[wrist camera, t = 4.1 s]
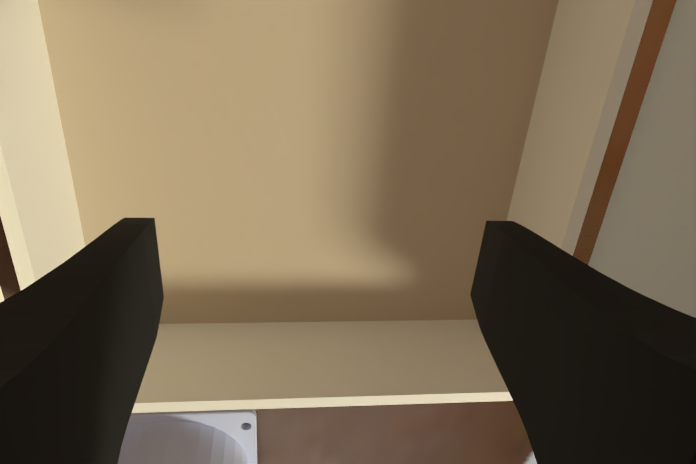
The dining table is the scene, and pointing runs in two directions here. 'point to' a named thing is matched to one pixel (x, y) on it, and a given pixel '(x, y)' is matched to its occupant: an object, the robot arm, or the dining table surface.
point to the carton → (308, 174)
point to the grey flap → (659, 181)
